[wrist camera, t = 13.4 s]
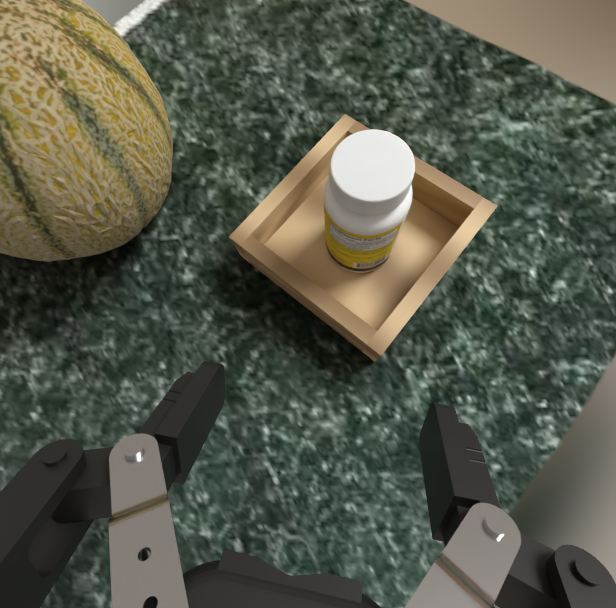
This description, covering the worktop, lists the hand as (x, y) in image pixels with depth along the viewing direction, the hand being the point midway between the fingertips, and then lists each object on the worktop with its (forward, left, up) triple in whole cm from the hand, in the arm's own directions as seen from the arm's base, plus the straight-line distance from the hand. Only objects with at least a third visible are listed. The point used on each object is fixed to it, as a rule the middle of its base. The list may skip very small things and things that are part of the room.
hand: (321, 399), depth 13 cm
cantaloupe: (+1, +22, -9) cm, 24 cm away
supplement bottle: (+10, +5, -9) cm, 14 cm away
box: (+10, +5, -9) cm, 14 cm away
